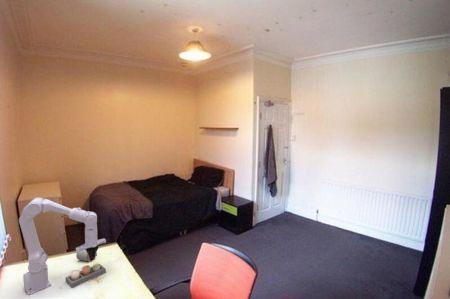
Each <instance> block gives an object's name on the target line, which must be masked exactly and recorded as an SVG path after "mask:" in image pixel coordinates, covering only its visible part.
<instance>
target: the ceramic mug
mask: <svg viewBox="0 0 450 299" xmlns="http://www.w3.org/2000/svg"><path fill="white" fill-rule="evenodd" d="M75 255H76V256H75V257H76V259H77V260H79V261H85V262H92V261H91V260H90V258H89V255H88V253H87V251H86V250H82V251H80V252H76V253H75ZM97 255H98V252H96V254H95V257H96V256H97Z"/></svg>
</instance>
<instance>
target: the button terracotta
mask: <svg viewBox="0 0 450 299" xmlns="http://www.w3.org/2000/svg"><path fill="white" fill-rule="evenodd" d="M90 267H91V266H90V265H87V264H85V265H84V266H82V268H81V271H82V275H83V276H86V275H88V274H90Z"/></svg>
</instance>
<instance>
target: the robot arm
mask: <svg viewBox="0 0 450 299" xmlns="http://www.w3.org/2000/svg"><path fill="white" fill-rule="evenodd" d="M51 211H52V212H54V213H55V212H56V213H59V214H63V215H65V216H67V217H68V218H69V220H70V219H71V220H73V221H77V222H80V223H84V226H85V227H84V244H82V245H80V246H77V247H75V252H76V253H77V252H80V251H82V250H86V251H87V253H88V255H89V258H90V260H91V261H90V262H92V261H95V257H96V256H95V254H96V252H97V251H98V250H99V245H102V244H106V243H107V240H106V238H100V239H98V224H97V223H98V216H97V213H96V212H94V211H89V210H87V211H86V210H84V209H82V208H81V207H73V208H70V207H67V206H64V205H62V204H60V203H58V202H55V201H52V200H51V199H47V198H44V197H34V198H33V199H31V201H30V202H28V204H26V206H25V207H23V209H22V212H21V214H20V217H19V218H18V222H19V225H20V226H19V227H20V229H21V230H20V231H21V232H22V233H21V234H22V236H23V239H24V242H25V246H26V249H27V253H28V258H27V259H28V260H27V261H28V266H27V270H28V271H27V272H26V273H24V274H23V276H22V277H23V278H22V279H23V290H24V291H25V293H26V294H27V295H31V294H34V293H36V292H39V291H41V290H43V289H46V288H49V287H50V286H52V283H51V281H49V273H48V272H49V271H48V270H49V269H48V268H49V267H48V264H47V260H48V257H49V256H48V254H47V253H46V252H45V250H44V248H42V245H41V243H40V239H39V236H38V233H37V228H36V225H35V222H34V218H36V216H37V215H39V214H40V213H41V212H42V213H47V212H51ZM97 253H98V252H97Z"/></svg>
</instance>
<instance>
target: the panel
mask: <svg viewBox="0 0 450 299" xmlns="http://www.w3.org/2000/svg"><path fill="white" fill-rule="evenodd" d="M79 274H80V278H79V279H76V280H74V281H72V280H71V274H70V275H68V276H66V277H65V283H66V284H67V285H68V286H69V287H70V288H71V289H73V288H75V287H78V286H80V285H82V284H84V283H87V282H90V281H91V280H93V279H95V278H98V277H100V276H103V275H105V274H107V269H106V267H104V266H103V265H102V264H100V270H97V271H95V272H93V265H92V266H90V274H88V275H86V276H83V275H82V270H79Z"/></svg>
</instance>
